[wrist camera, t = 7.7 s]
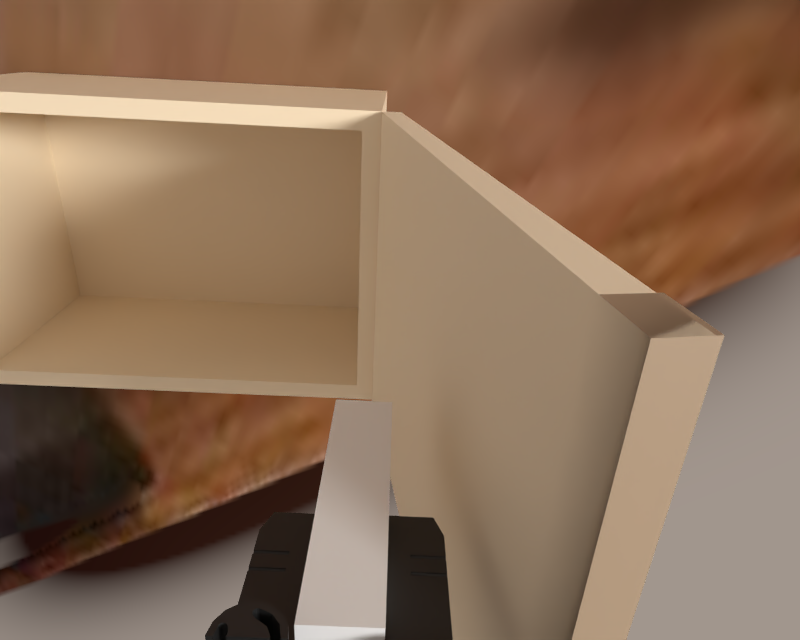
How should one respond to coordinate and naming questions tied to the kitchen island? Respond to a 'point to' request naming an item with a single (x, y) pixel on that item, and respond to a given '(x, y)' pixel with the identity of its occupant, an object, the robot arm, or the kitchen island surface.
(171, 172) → the carton
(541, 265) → the lid
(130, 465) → the kitchen island surface
